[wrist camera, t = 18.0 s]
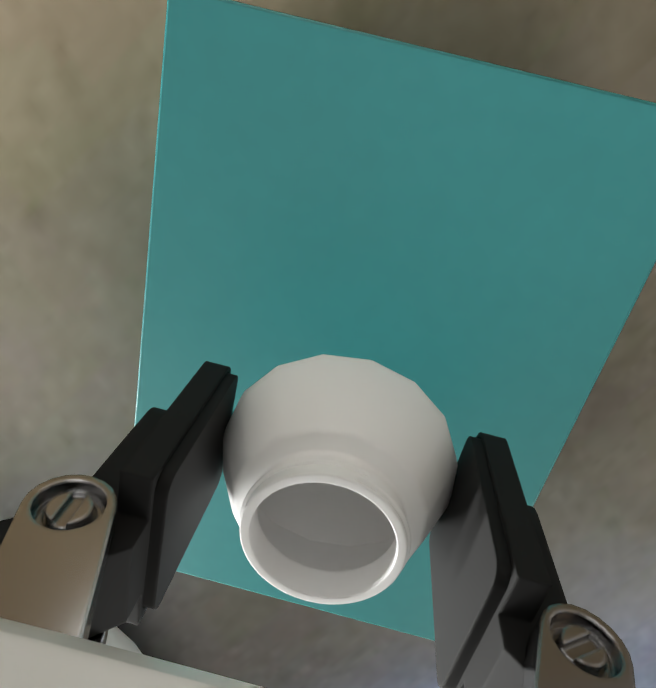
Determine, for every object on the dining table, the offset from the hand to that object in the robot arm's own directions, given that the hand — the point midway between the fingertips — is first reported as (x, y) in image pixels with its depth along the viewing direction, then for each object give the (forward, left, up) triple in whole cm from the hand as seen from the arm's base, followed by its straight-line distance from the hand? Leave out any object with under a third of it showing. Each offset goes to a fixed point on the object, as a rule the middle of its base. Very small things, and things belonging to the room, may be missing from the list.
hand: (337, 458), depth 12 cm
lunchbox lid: (0, 0, -3) cm, 3 cm away
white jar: (0, 0, -1) cm, 1 cm away
